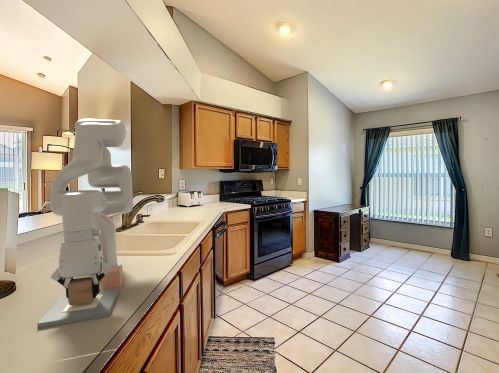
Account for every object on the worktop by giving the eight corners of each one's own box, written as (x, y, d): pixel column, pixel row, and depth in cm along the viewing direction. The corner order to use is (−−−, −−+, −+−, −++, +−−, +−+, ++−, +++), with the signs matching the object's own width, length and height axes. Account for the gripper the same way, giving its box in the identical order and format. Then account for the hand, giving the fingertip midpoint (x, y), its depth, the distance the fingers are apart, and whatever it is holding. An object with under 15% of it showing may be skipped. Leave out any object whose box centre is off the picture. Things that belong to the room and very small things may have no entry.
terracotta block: (105, 284, 91) (104, 267, 90) (123, 282, 92) (122, 265, 92) (101, 291, 85) (100, 273, 85) (120, 288, 87) (119, 270, 87)
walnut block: (76, 296, 77) (74, 276, 76) (97, 293, 78) (95, 274, 78) (69, 305, 71) (67, 284, 71) (91, 302, 73) (90, 281, 73)
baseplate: (62, 299, 80) (62, 294, 80) (119, 290, 85) (119, 286, 85) (37, 328, 65) (37, 322, 65) (108, 316, 70) (108, 311, 69)
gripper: (115, 230, 80) (118, 288, 81) (50, 235, 75) (54, 297, 76) (110, 235, 73) (113, 298, 74) (37, 242, 68) (42, 309, 69)
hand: (83, 297), depth 75 cm, fingers closed on walnut block, 5 cm apart
